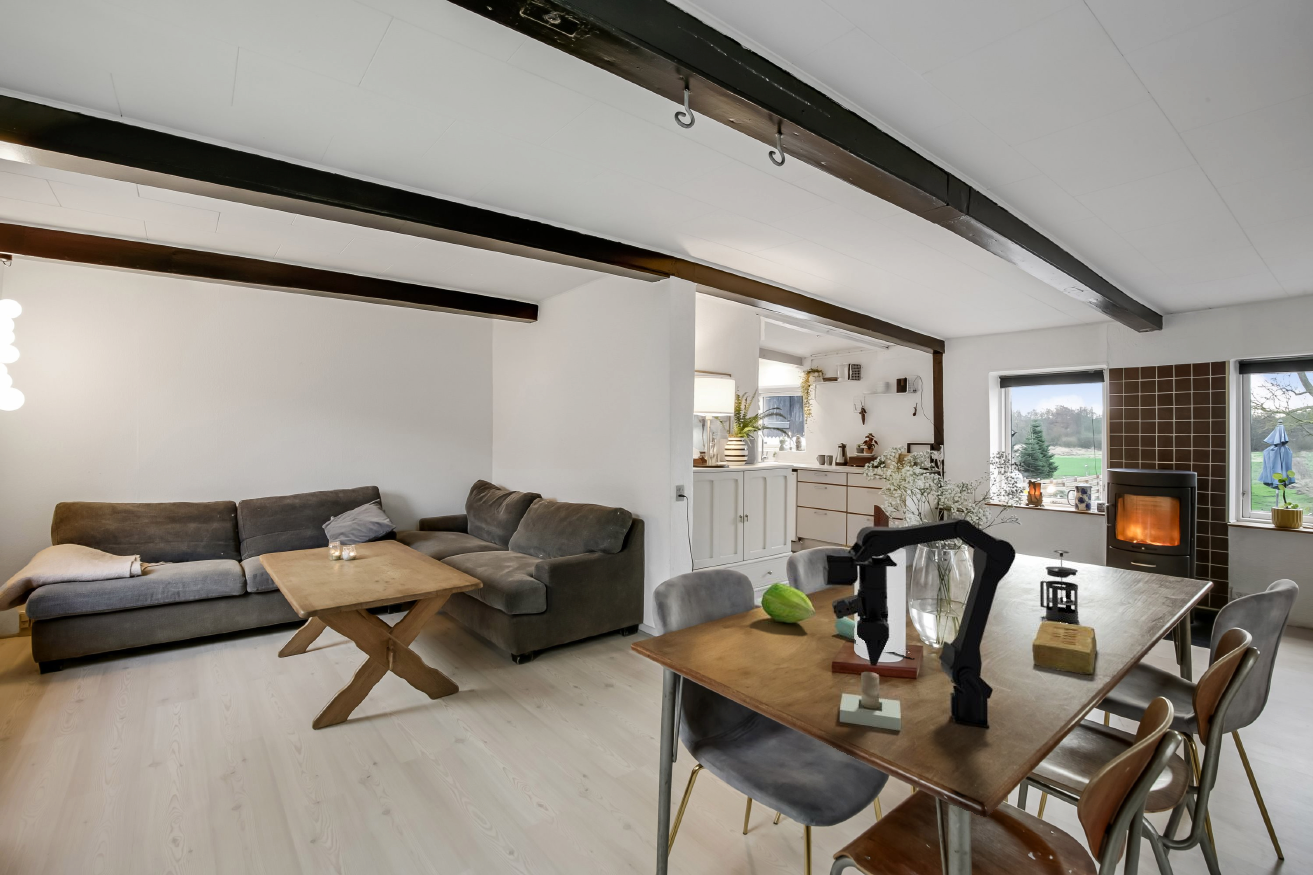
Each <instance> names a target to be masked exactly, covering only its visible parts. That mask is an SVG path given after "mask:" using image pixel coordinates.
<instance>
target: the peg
mask: <svg viewBox="0 0 1313 875" xmlns="http://www.w3.org/2000/svg"><path fill="white" fill-rule="evenodd" d="M860 675H861V678H860V680H861V681H860V682H861V684H860V685H861V688H860V689H861V692H860V693H861V694H860V696H861V707H862V708H863V709H868V710H875V711H878V710H879V698H880V675H879V674H877V673H875V672H871V671H864V672H861V673H860Z"/></svg>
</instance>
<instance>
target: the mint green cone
mask: <svg viewBox="0 0 1313 875" xmlns="http://www.w3.org/2000/svg"><path fill="white" fill-rule="evenodd" d="M855 622H856V621H855V620H853V619H851V618H848V616H845V617H843V618H841V619H837V618H836V620H835V623H834V628H835V631H836V632H837V634H838V635H841V636H843V637H846V638H848V639H852V640H855V639H854V628H855ZM908 653H910V652H909V651H908Z"/></svg>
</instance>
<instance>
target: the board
mask: <svg viewBox="0 0 1313 875" xmlns="http://www.w3.org/2000/svg"><path fill="white" fill-rule="evenodd" d="M841 694H842V695H841V700H840V706H839V707H840V708H839V722H840V723H848V724H853V725H861V726H868V727H874V728H881V729H888V730H895V731H900V732H901V731H902V729H901V727H902V726H901V725H902V722H901V719H902V718H901V717H902V716H901V701H900V700H895V699H887V698H880V697H879V710H878V711H875V710H868V709H863V708H862V707H861V695H859V694H858V695H857V694H851V693H841Z"/></svg>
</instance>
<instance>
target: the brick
mask: <svg viewBox="0 0 1313 875" xmlns="http://www.w3.org/2000/svg"><path fill="white" fill-rule="evenodd" d="M1095 631H1096V630H1095V629H1094V628H1093V627H1091V626H1086V625H1079V624H1078V625H1077V624H1066V623H1060V622H1053V621H1050V620H1044V621H1041V623H1040V625H1039V627H1038V630H1037V632H1036V635H1035V638H1034V640H1033V641H1032V648H1031V651H1032V654H1033V655H1032V659H1033V664H1035V666H1038V667H1041V666H1043V667H1042V668H1046V667H1047V669H1051V668H1054V669H1053V670H1057V669H1059V670H1058V671H1061V670H1063V672H1066V671H1068V672H1070V671H1073V672H1072V673H1076V672H1077V673H1076V674H1078V673H1083V674H1082V675H1085V674H1090V675H1092V674H1093V672H1094V668H1095V656H1096V655H1095V654H1097V650H1098V649H1097V648H1098V647H1097V638H1096V632H1095Z"/></svg>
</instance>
